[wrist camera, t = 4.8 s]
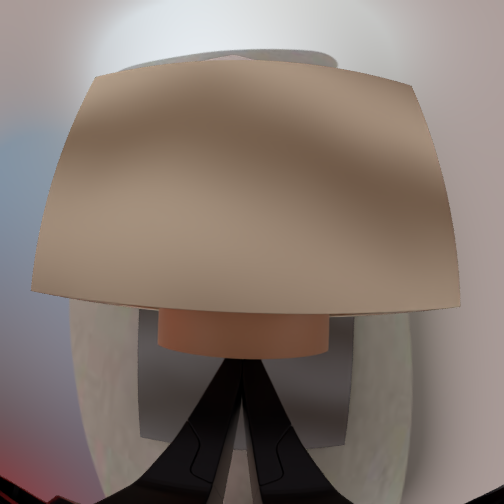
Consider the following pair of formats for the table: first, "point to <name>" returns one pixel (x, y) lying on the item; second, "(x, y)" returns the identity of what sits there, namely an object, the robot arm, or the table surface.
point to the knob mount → (249, 219)
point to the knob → (243, 334)
